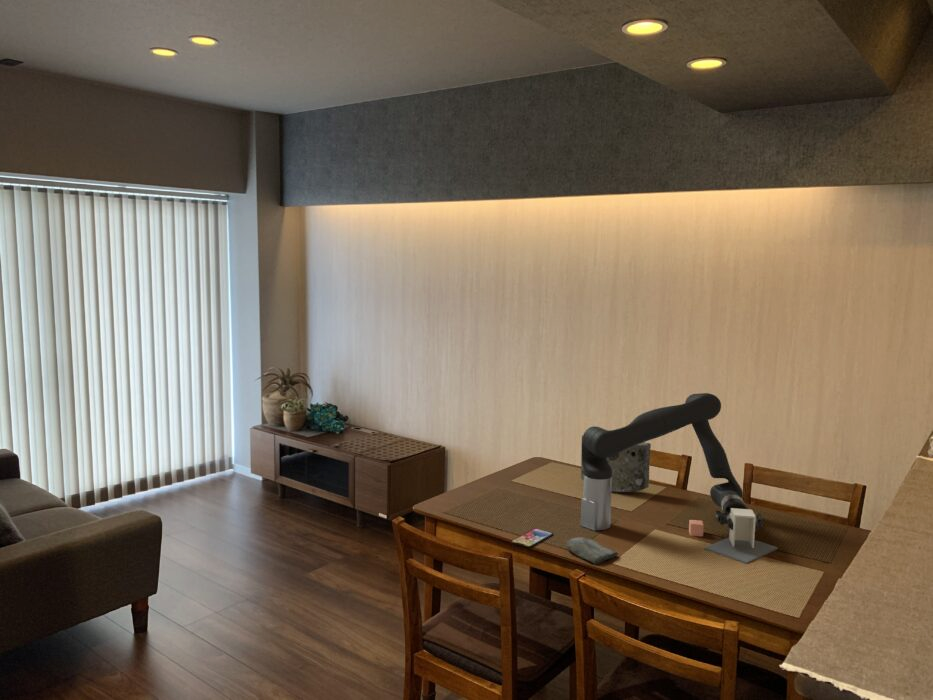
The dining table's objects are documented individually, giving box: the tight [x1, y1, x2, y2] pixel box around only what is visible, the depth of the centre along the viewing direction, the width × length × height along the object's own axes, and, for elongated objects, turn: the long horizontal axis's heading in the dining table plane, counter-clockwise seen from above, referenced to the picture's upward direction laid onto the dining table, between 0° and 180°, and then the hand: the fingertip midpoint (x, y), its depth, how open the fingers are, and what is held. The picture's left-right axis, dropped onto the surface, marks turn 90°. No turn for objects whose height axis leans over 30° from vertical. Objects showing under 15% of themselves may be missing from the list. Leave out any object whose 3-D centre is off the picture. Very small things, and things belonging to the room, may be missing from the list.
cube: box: [688, 519, 705, 537], centre depth 237 cm, size 4×4×4 cm
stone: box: [565, 536, 619, 566], centre depth 220 cm, size 11×4×15 cm
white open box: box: [728, 508, 756, 548], centre depth 224 cm, size 6×6×10 cm
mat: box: [704, 536, 779, 565], centre depth 224 cm, size 18×14×1 cm
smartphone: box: [510, 528, 554, 549], centre depth 232 cm, size 7×1×15 cm
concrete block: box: [580, 435, 652, 493], centre depth 281 cm, size 27×9×20 cm, turn 55°
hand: (743, 527), depth 221 cm, fingers closed on white open box, 6 cm apart
